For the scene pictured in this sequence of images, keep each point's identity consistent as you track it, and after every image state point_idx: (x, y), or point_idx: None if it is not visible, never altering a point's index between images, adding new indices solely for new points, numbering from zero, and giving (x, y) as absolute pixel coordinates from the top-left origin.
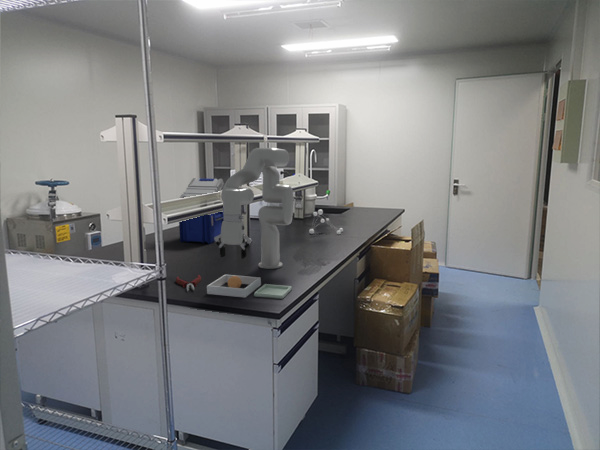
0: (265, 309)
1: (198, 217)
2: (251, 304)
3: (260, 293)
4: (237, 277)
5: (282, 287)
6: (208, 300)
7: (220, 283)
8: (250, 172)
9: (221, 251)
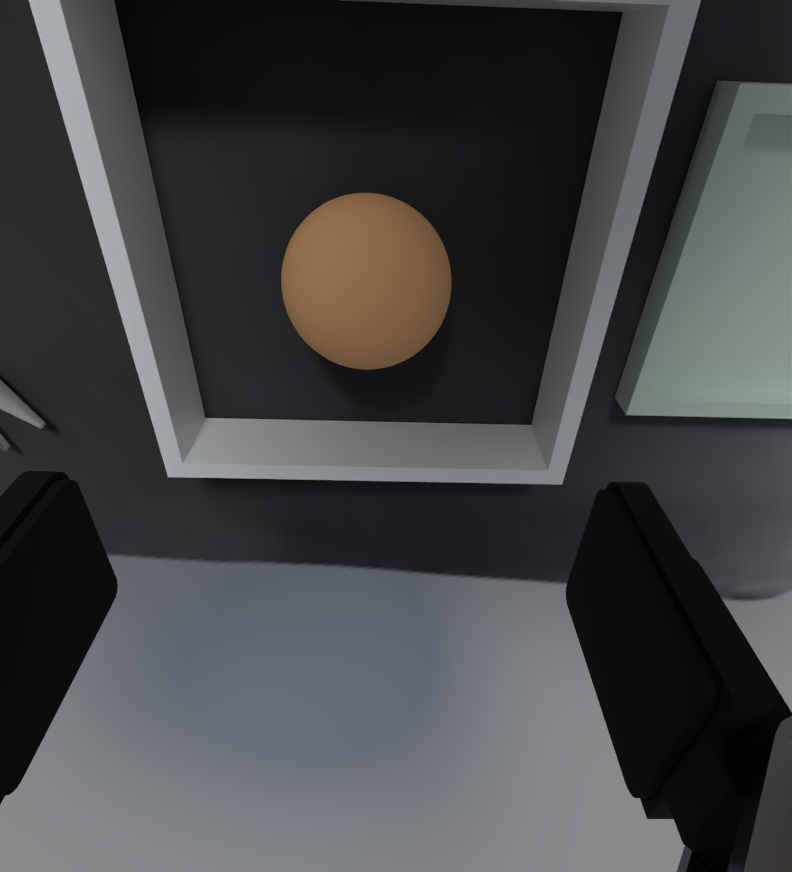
0: (715, 575)
1: None
2: None
3: (687, 416)
4: (411, 320)
5: None
6: (293, 533)
7: (143, 199)
8: None
9: (40, 718)
